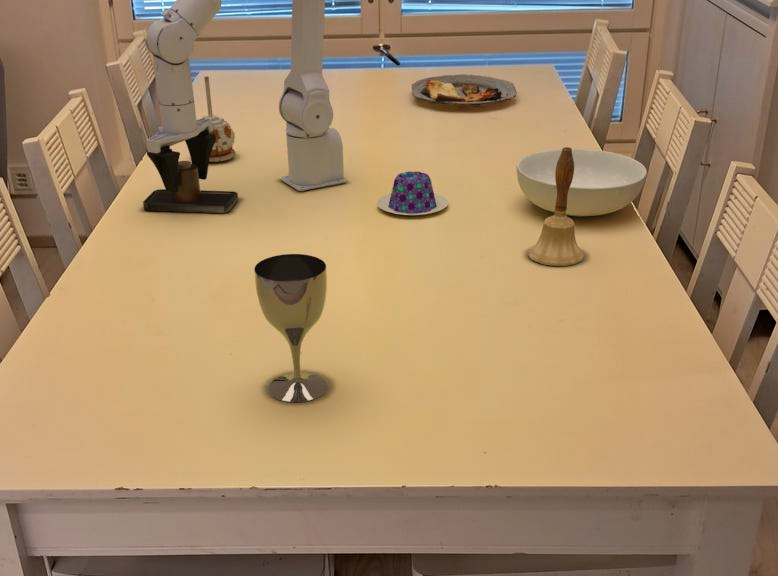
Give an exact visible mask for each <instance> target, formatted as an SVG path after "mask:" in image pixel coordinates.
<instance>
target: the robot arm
mask: <svg viewBox="0 0 778 576" xmlns="http://www.w3.org/2000/svg"><path fill="white" fill-rule="evenodd" d="M221 9H222V0H175V1H174V3H173V4H172V5H171V6H170V8H169V9H164V10H163V12H162V13H161V16H162V17H163V18H160V19H159V20H155V21H154V22H153V23H151V25H150V26H149V27H148V29H147V31H146V34H147V35H146V38H145V39H144V43H145V44H144V45H145V47H146V49H147V50H148V52H149V53H150V54H151V55H152V61H153V67H154V78H155V79H154V80H155V86H156V92H157V101H158V109H159V116H160V123H161V126H159V127H157V128H158V131H157V132H156V133H154V135H152V136H151V137H150V138H147V139H146V140H145V143H146V149H145V150H146V156H147V157H148V158H149V159H150V161H151V162H152V163H153V166H154V167H155V168H156V170H157V172H158V174H159V176H160V178H161V181H162V183H163V186H164V189H166V191H168V192H173V193H176V192H178V162H179V161H180V155H181V152H180V151H174V150H173V148H171V147H172V146H174V145H177V144H179V143H182V142H185V144H186V147H187V150H188V153H189V156H190V162H191V164H194V165H197V167H198V175H199V180H203V181H205V180H207V178H208V173H209V172H208V171H209V164H210V162H209V159H210V155H211V151H212V148H213V146H214V144H215V142H216V136H215V135H214V134H209V132H212V131H213V125H212V119H206V118H202V117H201V118H202V119H201V118H199V119H197V112H196V104H195V103H196V102H195V96H194V95H195V94H194V87H193V78H192V70H191V64H190V63H191V62H190V57H192V55H193V53H194V50H195V49H194V48H195V41H196V40H197V38H198V37H199V36H200V35H201V33H203V32H204V30H205V29H206V27H207V26H208V25H209V24H210V22H212V20H213V19H214V18H215V16H217V14H218V13H219V11H220V10H221ZM325 11H326V0H292V1H291V33H290V34H291V35H290V36H291V37H290V71H289V73H288V74H287V76H286V77H285V79H284V81H283V91H282V94H281V96H280V98H279V101H278V112H279V114H280V117H281V118H282V120H283V121H285V123H286V125H285V126H286V127H285V132H286V149H287V150H286V151H287V162H288V163H287V166H288V168H287V169H288V175H284V176H281V177H280V180H281V181H282V182H284V183H285V184H287V185H288V186H290V187H291V188H293V189H294V190H296V191H298V192H303V191H308V190H315V189H319V188H324V187H330V186H335V185H339V184H340V185H341V184H344V183H346V182H347V179H345V172H344V168H345V167H344V145H343V140H342V137H341V134H340V133H339V131H338V130H337V129H336V128H334V127H331V125H332V123H333V120H334V109H333V105H331V101H330V89H329V87H328V84H327V82H326V81H325V78H324V76H323V65H324V64H323V61H324V59H323V58H324V36H325V35H324V34H325V16H326V15H325Z"/></svg>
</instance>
